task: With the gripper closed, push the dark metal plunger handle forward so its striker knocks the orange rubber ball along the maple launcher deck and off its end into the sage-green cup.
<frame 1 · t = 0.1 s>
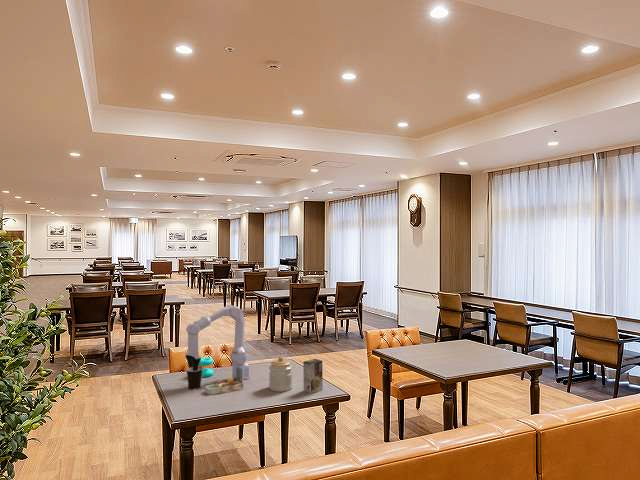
hand: (193, 369, 258), 10 cm above the table, tool pointing down, fingers open, 7 cm apart
coffee box: (313, 390, 253), on the table
ball: (230, 380, 255), point 5 cm above the table, touching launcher
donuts: (205, 375, 281), on the table
coffee mug: (195, 386, 259), on the table
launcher: (223, 390, 253), on the table
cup: (213, 392, 250), on the table
jar: (280, 388, 256), on the table
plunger: (237, 375, 258), point 7 cm above the table, slide at 0.0 cm
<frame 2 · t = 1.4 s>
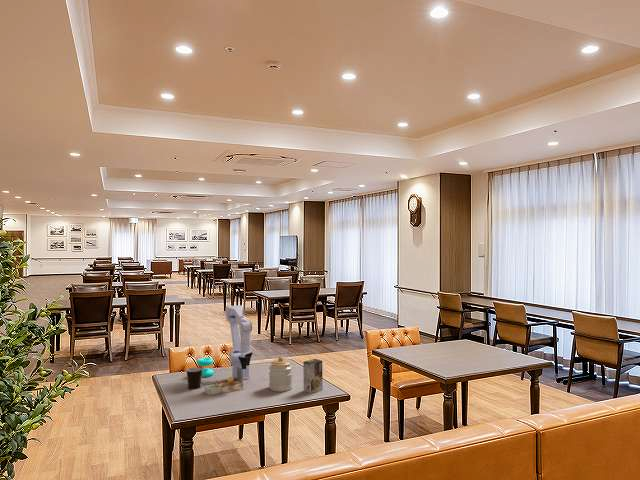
hand: (245, 367, 260), 11 cm above the table, tool pointing down, fingers open, 7 cm apart
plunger: (238, 374, 258), point 7 cm above the table, slide at -0.4 cm, touching gripper
everything else where it was.
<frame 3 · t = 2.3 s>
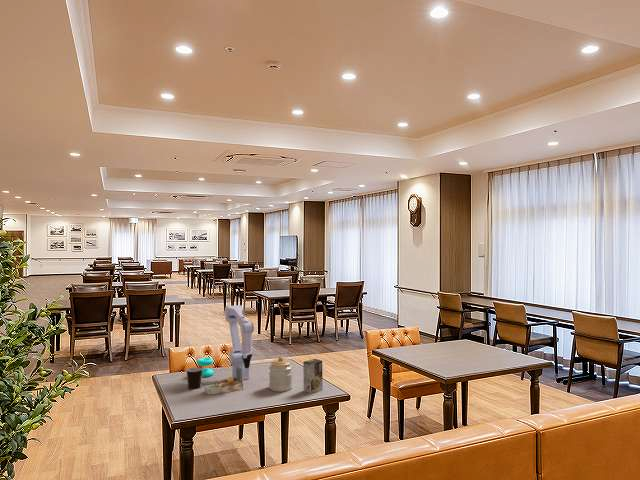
hand: (247, 367, 261), 10 cm above the table, tool pointing down, fingers closed
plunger: (237, 374, 258), point 7 cm above the table, slide at 0.0 cm
everything else where it was.
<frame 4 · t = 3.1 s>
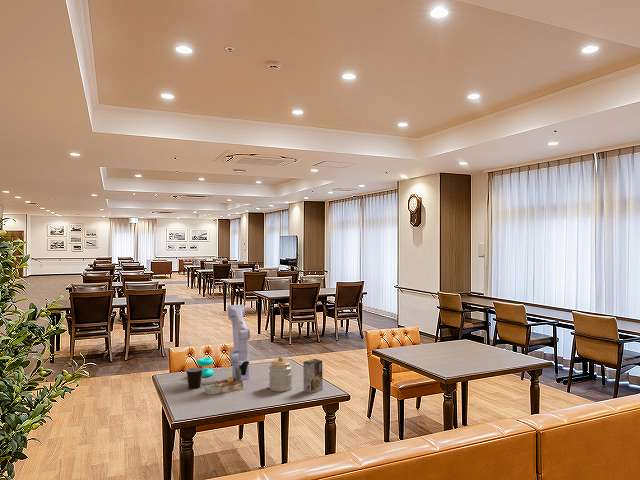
hand: (243, 374, 260), 6 cm above the table, tool pointing down, fingers closed
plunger: (236, 375, 257), point 7 cm above the table, slide at 0.6 cm, touching gripper
everything else where it was.
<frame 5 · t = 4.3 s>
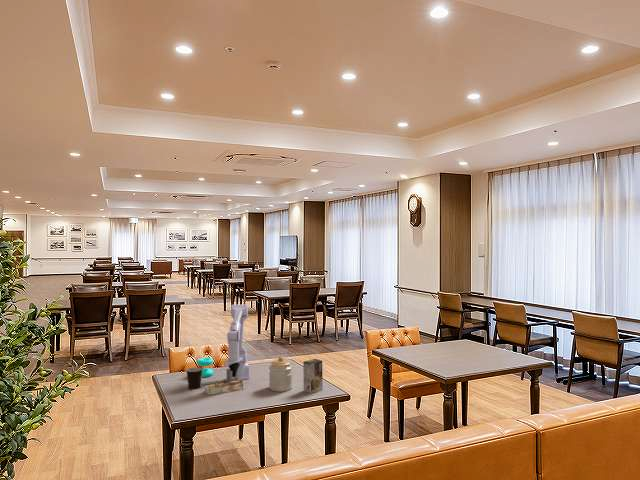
hand: (233, 376, 256), 6 cm above the table, tool pointing down, fingers closed
ball: (212, 388, 249), point 2 cm above the table, tilted 10°, touching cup
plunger: (227, 376, 254), point 7 cm above the table, slide at 5.9 cm, touching gripper
everything else where it was.
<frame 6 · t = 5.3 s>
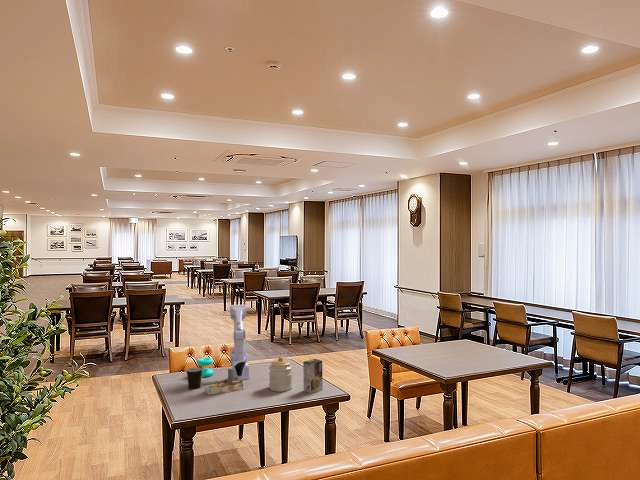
hand: (239, 375, 258), 6 cm above the table, tool pointing down, fingers closed
ball: (215, 387, 250), point 2 cm above the table, tilted 47°, touching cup
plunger: (229, 376, 255), point 7 cm above the table, slide at 5.0 cm
everything else where it was.
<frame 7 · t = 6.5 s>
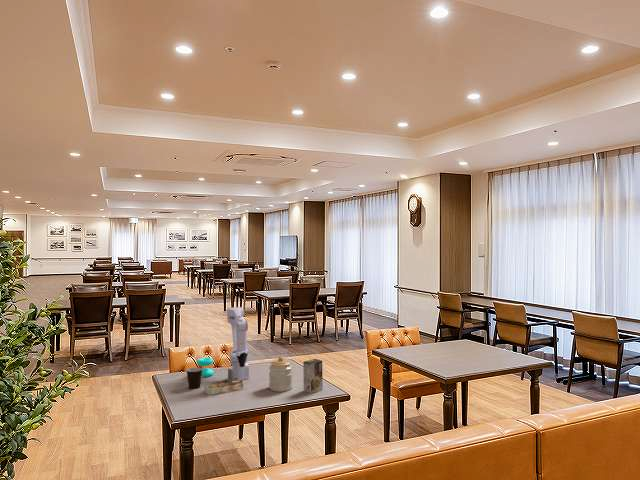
hand: (242, 366, 262), 10 cm above the table, tool pointing down, fingers closed
ball: (214, 387, 250), point 2 cm above the table, tilted 36°, touching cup
everything else where it was.
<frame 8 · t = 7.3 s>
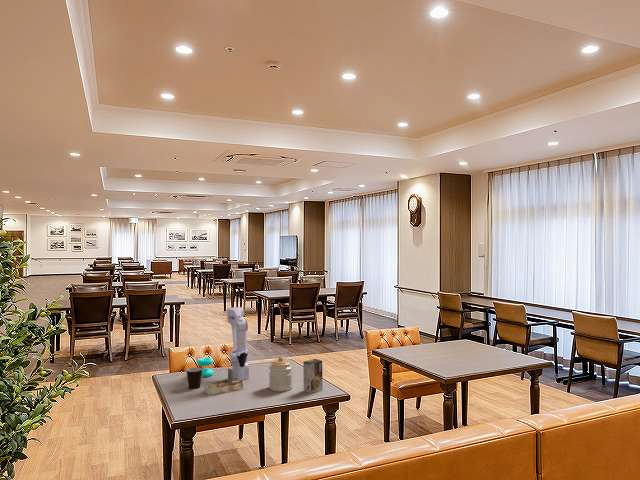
hand: (242, 366, 262), 10 cm above the table, tool pointing down, fingers closed
ball: (214, 388, 250), point 2 cm above the table, tilted 24°, touching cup
everything else where it was.
at the end: ball 0.4 cm off-centre on the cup, point 2.1 cm above the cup's base; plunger slide at 5.0 cm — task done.
